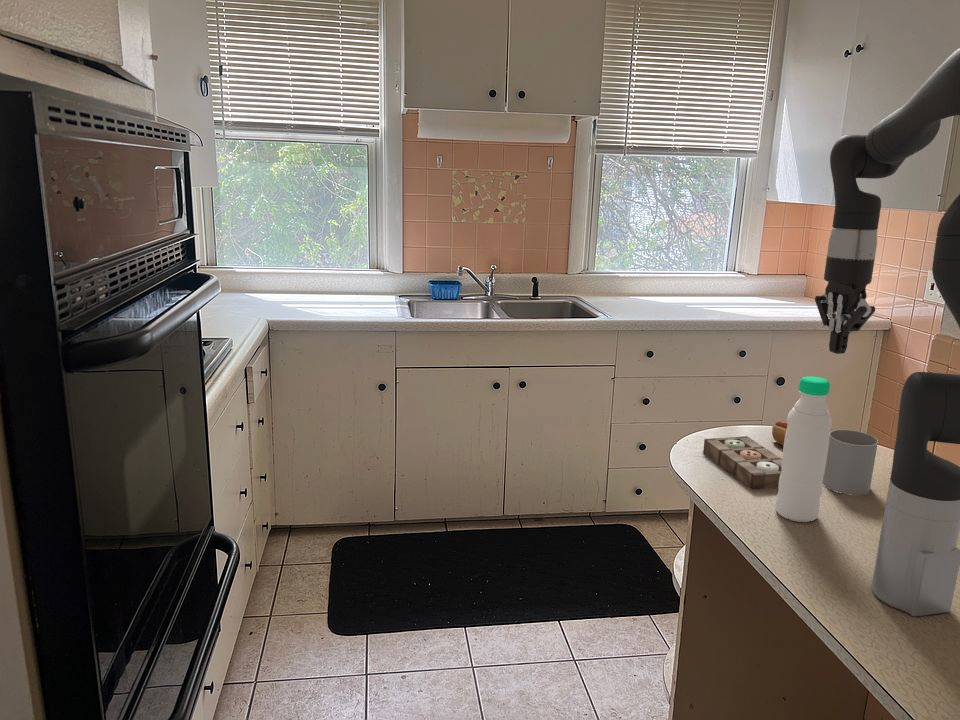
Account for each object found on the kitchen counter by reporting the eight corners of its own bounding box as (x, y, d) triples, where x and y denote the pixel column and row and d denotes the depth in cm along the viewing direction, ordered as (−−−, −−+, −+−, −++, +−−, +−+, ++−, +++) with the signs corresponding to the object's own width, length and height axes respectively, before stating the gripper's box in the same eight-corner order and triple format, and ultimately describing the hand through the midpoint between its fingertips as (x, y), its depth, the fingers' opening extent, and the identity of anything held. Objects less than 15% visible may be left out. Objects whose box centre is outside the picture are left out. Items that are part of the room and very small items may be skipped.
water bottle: (822, 525, 128) (843, 386, 121) (778, 521, 129) (797, 383, 122) (812, 507, 134) (832, 374, 128) (771, 503, 136) (789, 371, 129)
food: (765, 441, 166) (767, 420, 165) (783, 438, 168) (786, 417, 167) (814, 465, 154) (817, 442, 152) (834, 461, 156) (837, 438, 155)
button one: (781, 483, 144) (783, 468, 143) (762, 484, 143) (764, 469, 142) (769, 474, 148) (771, 460, 147) (751, 476, 147) (752, 461, 146)
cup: (880, 491, 141) (888, 442, 139) (847, 498, 138) (855, 448, 136) (844, 474, 149) (851, 427, 146) (812, 480, 146) (819, 432, 143)
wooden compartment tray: (799, 486, 143) (801, 471, 142) (752, 489, 141) (754, 475, 140) (745, 449, 161) (747, 436, 160) (703, 452, 159) (704, 439, 158)
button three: (763, 470, 150) (765, 456, 149) (745, 472, 149) (747, 457, 148) (752, 463, 153) (754, 448, 153) (734, 464, 153) (736, 450, 152)
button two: (747, 459, 155) (748, 445, 154) (729, 460, 154) (731, 446, 154) (736, 452, 159) (738, 438, 158) (719, 453, 158) (721, 439, 157)
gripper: (898, 259, 123) (882, 360, 128) (843, 251, 136) (830, 343, 140) (859, 259, 122) (844, 362, 126) (807, 251, 134) (795, 345, 138)
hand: (836, 352), depth 133 cm, fingers closed
